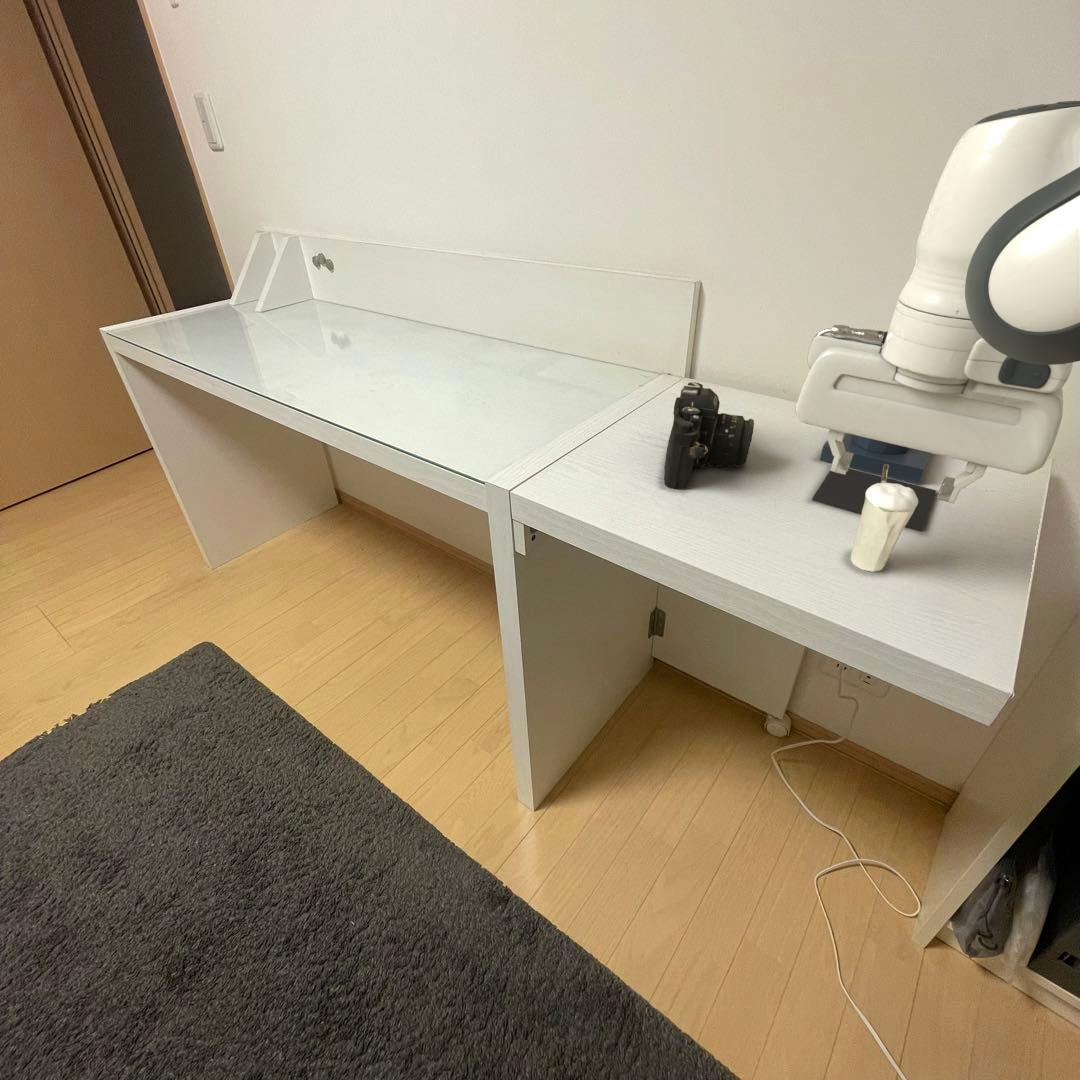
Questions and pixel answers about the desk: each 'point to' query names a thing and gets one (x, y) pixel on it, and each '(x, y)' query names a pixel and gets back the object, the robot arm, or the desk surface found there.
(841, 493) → the mat
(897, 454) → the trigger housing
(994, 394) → the robot arm
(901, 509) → the milkshake
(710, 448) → the film camera
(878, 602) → the desk surface
